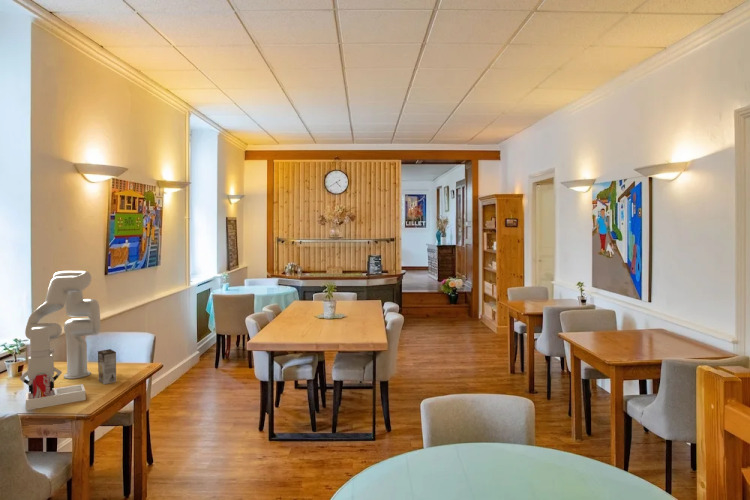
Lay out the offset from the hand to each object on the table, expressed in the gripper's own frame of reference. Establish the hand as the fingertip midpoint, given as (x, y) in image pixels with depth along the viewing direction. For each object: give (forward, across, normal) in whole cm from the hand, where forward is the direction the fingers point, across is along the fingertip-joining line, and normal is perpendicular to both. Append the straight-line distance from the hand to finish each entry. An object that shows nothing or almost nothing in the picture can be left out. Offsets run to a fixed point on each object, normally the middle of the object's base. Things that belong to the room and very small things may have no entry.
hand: (41, 391), depth 228 cm
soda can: (+4, 0, 0) cm, 4 cm away
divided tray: (+6, -5, 0) cm, 8 cm away
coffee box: (+6, -29, -20) cm, 36 cm away
